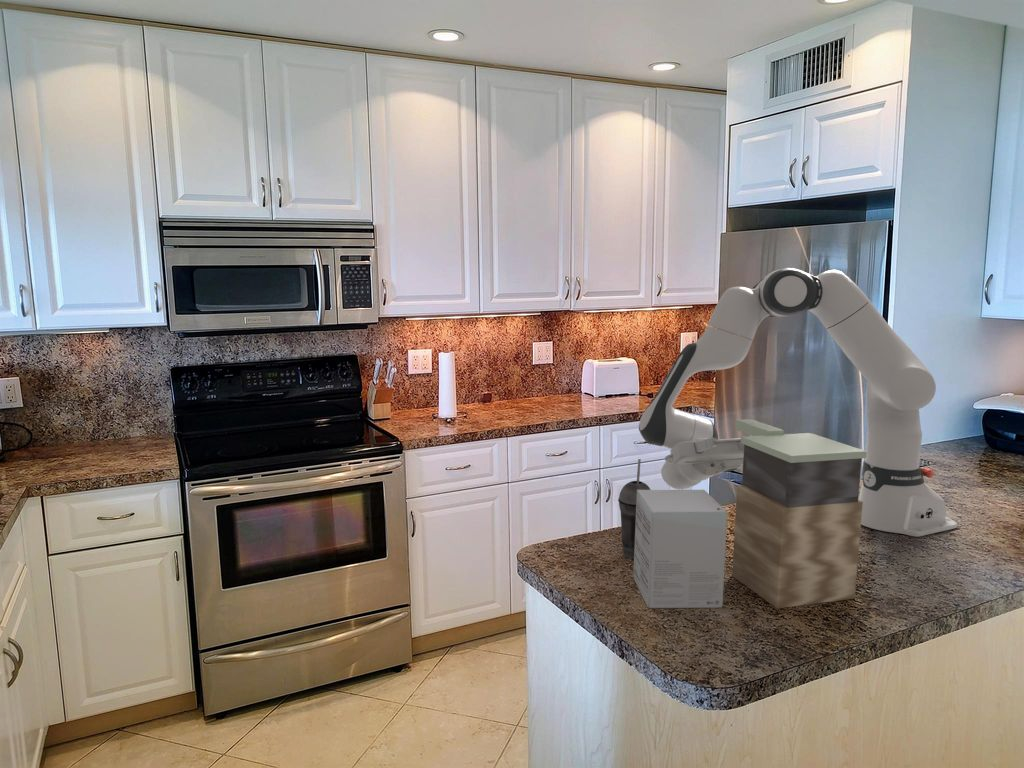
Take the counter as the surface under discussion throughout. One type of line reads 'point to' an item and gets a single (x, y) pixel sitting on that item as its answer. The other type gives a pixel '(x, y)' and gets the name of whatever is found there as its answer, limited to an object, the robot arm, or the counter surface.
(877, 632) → the counter surface
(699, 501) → the supplement box
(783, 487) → the tub stand
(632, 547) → the beverage cup
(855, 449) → the lid
